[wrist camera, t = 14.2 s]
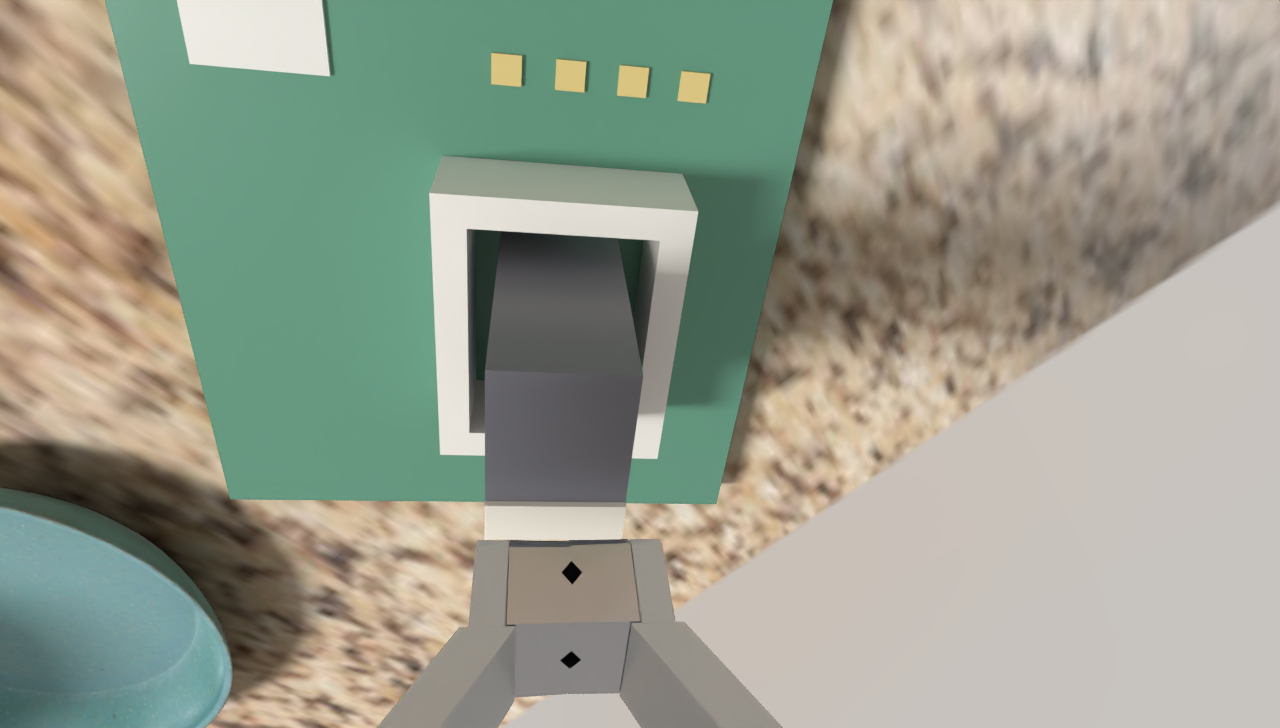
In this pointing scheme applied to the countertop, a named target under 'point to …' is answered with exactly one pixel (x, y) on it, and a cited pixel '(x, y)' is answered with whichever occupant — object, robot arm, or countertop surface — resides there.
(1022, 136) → the countertop surface
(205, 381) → the board
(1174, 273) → the countertop surface
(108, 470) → the countertop surface
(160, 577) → the saucer
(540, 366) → the plug
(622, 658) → the robot arm
